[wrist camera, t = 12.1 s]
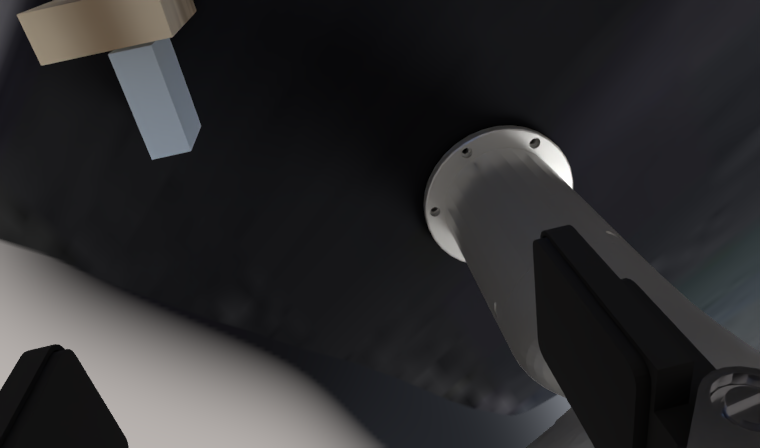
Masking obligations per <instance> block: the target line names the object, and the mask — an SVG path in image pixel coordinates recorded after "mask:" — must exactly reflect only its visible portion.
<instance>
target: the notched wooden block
mask: <svg viewBox="0 0 760 448" xmlns="http://www.w3.org/2000/svg"><path fill="white" fill-rule="evenodd" d="M195 12H196V8H195V5H194V2H193V0H53V1H51V2H48V3H46V4H43V5H40V6H38V7H35V8H33V9H30V10H27V11H25V12H22V13H19V14H17V17H18V19H19V21H20V23H21V25H22V27H23V29H24V31H25V33H26V35H27V37H28V39H29V41H30V44H31V46H32V48H33V50H34V52H35V54H36V56H37V58H38V60H39V62H40V64H41V66H42V65H47V64H52V63H56V62H61V61H65V60H70V59H75V58H79V57H84V56H88V55H93V54H98V53H102V52H107V51H111V50H116V49H121V48H125V47H130V46H134V45H139V44H144V43H148V42H153V41H157V40H162V39H167V38H171V37H173V36H174V35H175V34H176V33H177V32H178V31H179V30H180V29H181V28H182V27H183V25H184V24H185V23H186V22H187V21H188V20H189V19H190V18H191V17H192V16H193V14H194V13H195Z"/></svg>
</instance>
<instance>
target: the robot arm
mask: <svg viewBox="0 0 760 448" xmlns="http://www.w3.org/2000/svg"><path fill="white" fill-rule="evenodd" d="M532 139H533V141H532V142H530V141H531V140H532ZM465 148H467V150H466V151H464V152H462V151H463V150H464V149H465ZM423 206H424V215H425V220H426V222H427V225H428V228H429V230H430V232H431V234H432V236H433V238H434V240H435V241H436V242H437V244H438V245H439V246H440V247H441V249H443V250H444V251H445V252H446V253H448V254H449V255H450V256H452V257H454V258H456V259H458V260H460V261H462V262H466V263H467V265H468V267H469V269H470V271H471V273H472V275H473V276H474V278H475V280H476V282H477V284H478V286H479V288H480V290H481V292H482V294H483V296H484V298H485V300H486V302H487V304H488V306H489V308H490V310H491V312H492V314H493V316H494V318H495V320H496V322H497V324H498V326H499V328H500V330H501V332H502V334H503V336H504V338H505V339H506V341H507V343H508V345H509V347H510V349H511V351H512V353H513V355H514V357H515V358H516V360H517V361H518V363H519V364H520V366H521V367H522V368H523V370H524V371H525V372H526V373H527V374H528V375H529V376H530V377H531V378H532V379H534V380H535V381H536V382H538V383H539V384H540V385H542V386H543V387H545V388H546V389H548V390H550V391H552V392H554V393H556V394H558V395H561V396H563V397H565V398H567V400H568V402H569V404H570V405H571V408H570V409H569V410H568V411H567V412H566V413H565V414H564V415H563V416H561V417H560V418H559V419H558V420H557V421H556V422H555V424H554V425H553V426H552V427H550V428H549V429H548V430H547V431H545V432H544V433H543V434H542V435H541V436H539V437H538V438H537V439H536V440H535V441H533V442H532V443H531V444H530V445H529V446H527V447H526V448H760V352H759V351H757V350H756V349H754V348H753V347H751V346H750V345H748V344H747V343H745V342H744V341H742V340H741V339H740V338H738V337H737V336H735V335H734V334H732V333H731V332H730V331H728V330H727V329H725V328H724V327H722V326H721V325H720V324H718V323H717V322H716V321H714V320H713V319H712V318H711V317H709V316H708V315H707V314H705V313H704V312H703V311H701V310H700V309H699V308H698V307H696V306H695V305H694V304H693V303H691V302H690V301H689V300H688V299H687V298H686V297H685V296H684V295H683V294H681V293H680V292H679V291H678V290H677V289H676V288H675V287H674V286H672V285H671V284H670V283H669V282H668V281H667V280H666V279H665V278H664V277H662V276H661V275H660V274H659V273H658V272H657V271H656V270H655V269H654V268H653V267H652V266H651V265H650V264H649V263H648V262H647V261H646V260H645V259H644V258H643V257H642V256H641V255H640V254H639V253H638V252H637V251H636V250H635V249H633V248H632V247H631V246H630V245H629V244H628V243H627V242H626V241H625V240H624V239H623V238H622V237H621V236H620V235H619V234H618V233H617V232H616V231H615V230H614V229H613V228H612V227H611V226H610V225H609V224H608V223H607V222H606V221H605V220H604V219H603V218H602V217H601V216H600V215H599V214H598V213H597V212H596V211H595V210H594V209H593V208H592V207H591V206H590V205H588V204H587V203H586V202H585V201H584V200H583V199H582V198H581V197H580V196H579V195H578V194H577V193H576V192H575V191H574V190H573V177H572V171H571V167H570V165H569V163H568V160H567V158H566V156H565V155H564V154H563V152H562V151H561V150H560V148H559V147H558V146H557V145H556V144H555V143H554V142H552V141H551V140H550V139H549V138H547V137H546V136H544V135H543V134H541V133H540V132H538V131H535V130H532V129H530V128H527V127H521V126H514V125H507V126H495V127H491V128H487V129H483V130H480V131H478V132H476V133H473V134H471V135H469V136H467V137H466V138H464V139H462V140H461V141H459V142H458V143H456V144H455V145H454V146H453V147H452V148H451V149H450V150H448V151H447V152H446V153H445V154H444V155H443V157H442V158H441V159H440V161H439V162H438V163H437V164H436V166H435V167H434V169H433V171H432V173H431V175H430V177H429V179H428V182H427V186H426V189H425V193H424V203H423ZM434 207H435V208H434ZM432 208H434V209H432ZM0 448H128V442H127V439H126V437H125V436H124V434H123V432H122V431H121V429H120V428H119V426H118V424H117V422H116V421H115V419H114V417H113V416H112V414H111V413H110V411H109V409H108V408H107V406H106V404H105V403H104V401H103V399H102V398H101V396H100V394H99V393H98V391H97V390H96V388H95V386H94V385H93V383H92V381H91V380H90V378H89V377H88V375H87V373H86V371H85V370H84V368H83V366H82V365H81V363H80V362H79V360H78V358H77V357H76V355H75V354H74V352H73V351H72V350H70V349H66V350H65V349H64V348H63V347H62V346H60V345H56V344H55V345H50V346H46V347H42V348H38V349H33V350H30V351H26V352H24V353H23V354H22V356H21V357H20V359H19V360H18V362H17V364H16V365H15V367H14V369H13V370H12V372H11V374H10V375H9V377H8V379H7V380H6V382H5V384H4V385H3V387H2V389H1V390H0Z"/></svg>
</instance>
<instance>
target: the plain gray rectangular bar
mask: <svg viewBox="0 0 760 448" xmlns="http://www.w3.org/2000/svg"><path fill="white" fill-rule="evenodd" d="M108 56H109V58H110V61H111V63H112V65H113V68H114V70H115V73H116V75H117V77H118V80H119V82H120V85H121V87H122V89H123V92H124V94H125V97H126V99H127V101H128V104H129V106H130V108H131V111H132V113H133V116H134V118H135V120H136V123H137V125H138V128H139V130H140V132H141V135H142V137H143V140H144V142H145V144H146V147H147V149H148V152H149V154H150V156H151V159H152V160H153V159H157V158H162V157H166V156H171V155H175V154H180V153H184V152H189V151H191V150H192V147H193V145H194V143H195V140H196V138H197V135H198V133H199V130H200V128H201V124H200V121H199V118H198V116H197V113H196V110H195V107H194V104H193V102H192V99H191V96H190V93H189V90H188V88H187V85H186V82H185V79H184V77H183V74H182V71H181V68H180V65H179V63H178V60H177V57H176V54H175V51H174V49H173V46H172V43H171V40H170V38H167V39H162V40H157V41H153V42H148V43H144V44H139V45H134V46H130V47H125V48H121V49H116V50H113V51H112V52H110V53H109V54H108Z"/></svg>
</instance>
